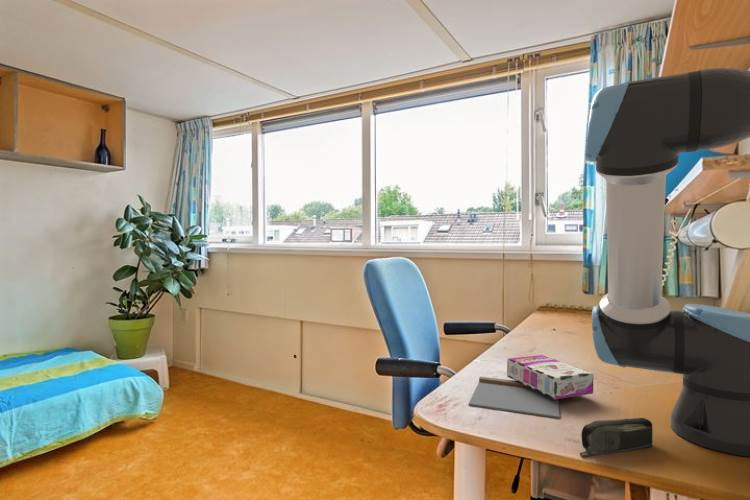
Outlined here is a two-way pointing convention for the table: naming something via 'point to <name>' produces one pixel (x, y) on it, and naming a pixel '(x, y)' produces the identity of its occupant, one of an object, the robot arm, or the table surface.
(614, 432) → the mobile phone
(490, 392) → the mat
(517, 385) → the strip
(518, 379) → the candy bar box
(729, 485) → the table surface
